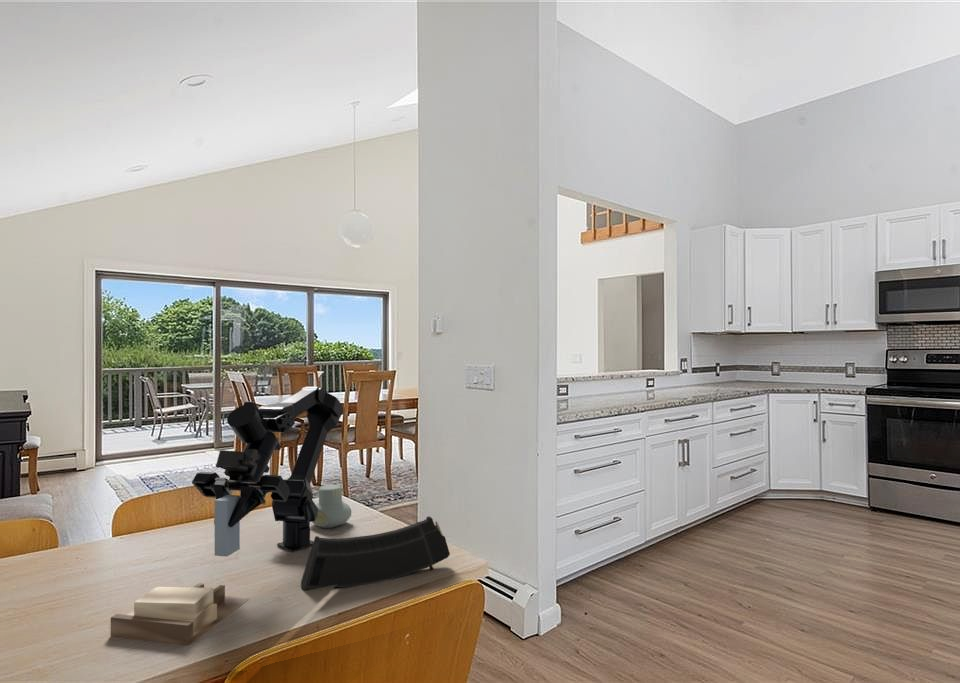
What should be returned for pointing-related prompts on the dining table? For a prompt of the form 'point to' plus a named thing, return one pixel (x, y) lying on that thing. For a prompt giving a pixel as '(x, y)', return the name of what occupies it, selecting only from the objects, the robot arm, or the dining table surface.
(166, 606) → the offcut stack
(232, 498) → the tall board
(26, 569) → the dining table surface
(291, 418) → the robot arm
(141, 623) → the walnut rack
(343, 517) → the air freshener
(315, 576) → the magazine
